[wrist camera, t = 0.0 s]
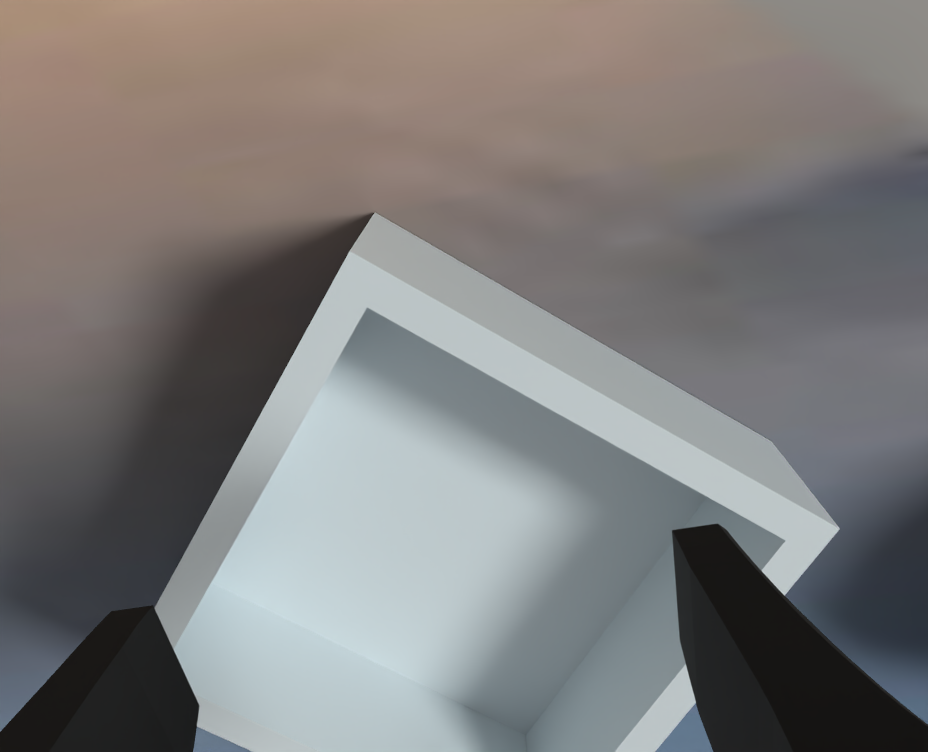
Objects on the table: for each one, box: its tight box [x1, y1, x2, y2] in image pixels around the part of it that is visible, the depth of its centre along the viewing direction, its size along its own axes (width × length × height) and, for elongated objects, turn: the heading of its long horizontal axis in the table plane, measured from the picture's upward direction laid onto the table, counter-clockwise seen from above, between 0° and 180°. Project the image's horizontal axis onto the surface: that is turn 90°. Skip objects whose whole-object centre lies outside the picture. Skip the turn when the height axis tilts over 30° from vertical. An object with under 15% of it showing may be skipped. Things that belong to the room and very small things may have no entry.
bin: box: [155, 213, 840, 752], centre depth 21 cm, size 12×12×4 cm
